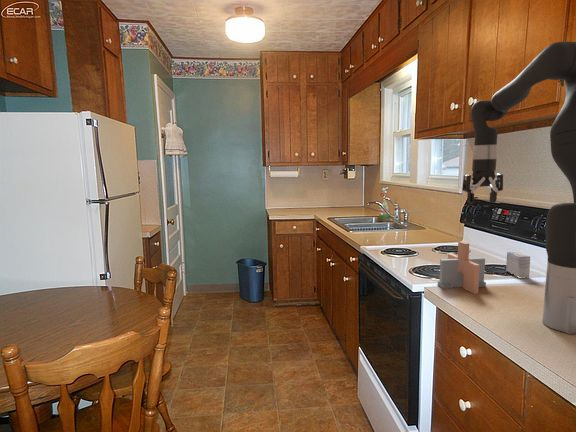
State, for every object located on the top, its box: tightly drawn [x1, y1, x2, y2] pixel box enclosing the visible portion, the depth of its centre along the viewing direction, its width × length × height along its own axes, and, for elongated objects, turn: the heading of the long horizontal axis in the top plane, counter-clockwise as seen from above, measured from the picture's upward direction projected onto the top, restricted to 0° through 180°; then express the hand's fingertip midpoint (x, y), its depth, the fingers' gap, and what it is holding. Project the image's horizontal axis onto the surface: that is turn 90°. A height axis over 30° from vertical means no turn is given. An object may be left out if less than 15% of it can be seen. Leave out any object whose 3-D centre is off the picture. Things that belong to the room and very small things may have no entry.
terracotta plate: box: [447, 240, 480, 295], centre depth 126 cm, size 16×2×16 cm, turn 7°
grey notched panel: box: [437, 257, 487, 290], centre depth 127 cm, size 16×4×10 cm, turn 96°
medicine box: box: [505, 251, 531, 278], centre depth 138 cm, size 8×4×9 cm, turn 179°
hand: (481, 203), depth 129 cm, fingers open, 8 cm apart
